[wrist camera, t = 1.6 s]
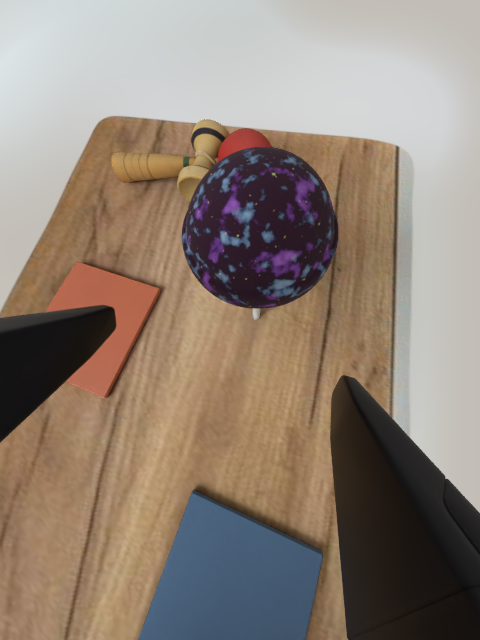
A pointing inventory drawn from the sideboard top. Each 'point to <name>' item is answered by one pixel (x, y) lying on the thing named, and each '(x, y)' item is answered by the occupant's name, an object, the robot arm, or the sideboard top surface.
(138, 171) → the kendama
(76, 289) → the terracotta pad
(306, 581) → the slate pad
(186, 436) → the sideboard top surface
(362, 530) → the robot arm
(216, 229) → the lollipop
